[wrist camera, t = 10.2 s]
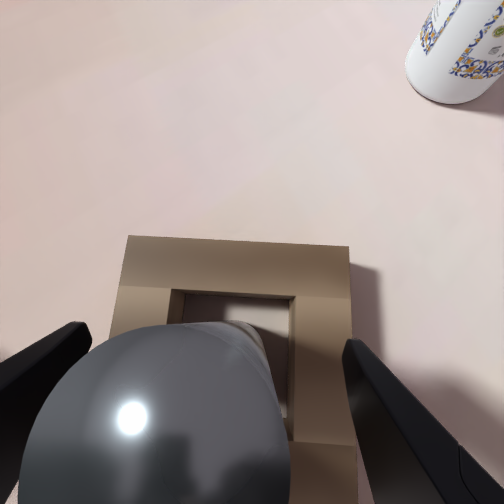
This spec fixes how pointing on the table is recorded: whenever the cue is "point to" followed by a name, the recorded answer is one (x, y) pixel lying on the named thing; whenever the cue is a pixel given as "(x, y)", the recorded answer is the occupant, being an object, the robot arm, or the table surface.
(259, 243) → the holder block
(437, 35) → the bath foam
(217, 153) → the table surface
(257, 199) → the table surface
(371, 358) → the robot arm
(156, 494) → the grey metal cylinder
